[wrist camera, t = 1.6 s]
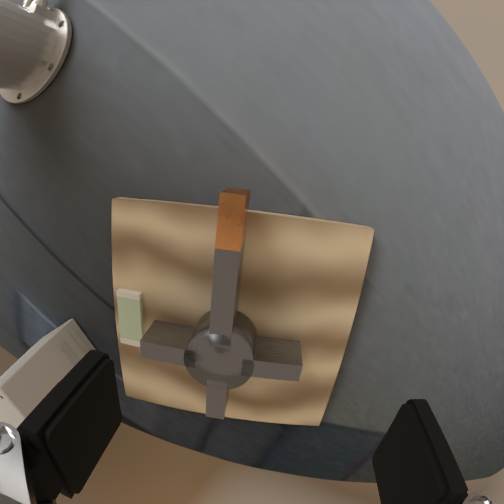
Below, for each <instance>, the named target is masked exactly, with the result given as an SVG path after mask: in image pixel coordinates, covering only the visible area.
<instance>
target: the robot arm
mask: <svg viewBox="0 0 504 504" xmlns="http://www.w3.org/2000/svg"><path fill="white" fill-rule="evenodd" d="M47 7H48V2H47V0H24V2H23V4H22V6H20V5H18V4H15V3H13V2H11V1H8V0H0V94H1V96H2V97H3V98H4V99H5V100H6V101H8V102H10V103H17V104H20V103H26V102H28V101H30V100H32V99H34V98H35V97H37V96H38V95H39V94H41V93H42V92H43V91H44V90H45V89H46V88H47V87H48V85H49V84H50V83H51V82H52V81H53V79H54V78H55V76H56V75H57V73H58V72H59V70H60V68H61V66H62V65H63V63H64V60H65V58H66V56H67V53H68V50H69V47H70V43H71V37H72V26H71V21H70V19H69V17H68V15H67V14H65V13H64V12H63V11H61V10H59V9H57V8H47ZM121 419H122V415H121V409H120V404H119V398H118V391H117V385H116V378H115V370H114V363H113V361H112V360H110V358H109V355H108V354H106V353H102V352H99V351H96V350H93V349H92V350H90V351H89V352H88V353H87V354H86V355H85V356H84V357H83V358H82V359H81V360H80V361H79V362H78V363H77V364H76V365H75V366H74V367H73V368H72V369H71V370H70V371H69V372H68V373H67V374H66V376H65V377H64V378H63V379H62V380H61V381H59V382H58V383H57V384H56V385H55V387H54V388H53V389H52V390H51V391H50V392H49V393H48V394H47V395H46V396H45V397H44V398H43V400H42V401H41V402H40V403H39V404H38V405H37V406H36V407H35V408H34V409H33V410H32V412H31V413H30V414H29V415H28V416H27V417H26V418H25V419H24V420H23V422H22V423H21V424H20V425H19V426H18V427H17V428H15V427H13V426H12V425H11V424H8V423H6V422H0V504H56V500H55V499H56V498H57V496H58V494H59V493H61V494H63V495H65V496H67V497H69V498H71V499H72V497H73V495H74V494H75V493H76V494H78V493H80V491H81V490H82V489H83V487H84V485H85V483H86V482H87V480H88V478H89V476H90V475H91V473H92V471H93V469H94V468H95V466H96V464H97V463H98V461H99V459H100V457H101V456H102V454H103V452H104V451H105V449H106V447H107V446H108V444H109V442H110V441H111V439H112V437H113V436H114V434H115V432H116V431H117V429H118V427H119V425H120V423H121ZM372 463H373V468H374V472H375V477H376V481H377V486H378V491H379V496H380V500H381V504H497V503H496V501H495V499H494V498H493V497H492V496H491V495H489V494H487V493H484V492H474V493H472V494H470V495H469V496H468V494H467V491H468V488H467V486H466V483H465V481H464V479H463V476H462V474H461V472H460V469H459V467H458V465H457V463H456V460H455V458H454V456H453V454H452V452H451V449H450V447H449V445H448V443H447V441H446V439H445V437H444V434H443V432H442V430H441V428H440V426H439V424H438V422H437V420H436V418H435V416H434V414H433V412H432V410H431V408H430V406H429V404H428V402H427V401H426V400H425V399H410V400H408V401H407V402H406V404H403V405H402V406H401V408H400V409H399V411H398V413H397V415H396V417H395V419H394V421H393V422H392V424H391V426H390V428H389V429H388V431H387V433H386V435H385V436H384V438H383V440H382V441H381V443H380V445H379V446H378V448H377V450H376V451H375V453H374V455H373V459H372Z"/></svg>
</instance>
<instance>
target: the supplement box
mask: <svg viewBox="0 0 504 504" xmlns="http://www.w3.org/2000/svg"><path fill="white" fill-rule="evenodd" d="M92 349H93V350H96V349H95V348H94V346H93V345H92V344H91V342H90V341H89V340H88V338H87V337H86V336H85V334H84V333H83V331H82V330H81V329H80V327H79V326H78V325H77V323H76V322H75V320H74V319H73V318H72V319H70V320H68V321H67V322H65V323H64V324H62V325H61V326H59V327H58V328H56V329H55V330H53V331H51V332H50V333H48V334H47V335H45V336H44V337H43V338H41V339H40V340H39V341H38V342H37V343H36V344H35V345H34V346H32V347H31V348H30V349H29V350H28V351H27V352H26V353H25V354H24V355H23V356H22V357H21V358H20V359H18V360H17V362H15V364H13V365H12V366H11V367H10V368H9V369H8V370H7V371H6V372H5V373H4V374H3V375H2V376H1V377H0V422H6V423H8V424H11V425H12V426H13V427H15V428H17V427H18V426H19V425H20V424H21V423H22V422H23V420H24V419H25V418H26V417H27V416H28V415H29V414H30V413H31V412H32V410H33V409H34V408H35V407H36V406H37V405H38V404H39V403H40V402H41V401H42V400H43V398H44V397H45V396H46V395H47V394H48V393H49V392H50V391H51V390H52V389H53V388H54V387H55V385H56V384H57V383H58V382H59V381H61V380H62V379H63V378H64V377H65V376H66V374H67V373H68V372H69V371H70V370H71V369H72V368H73V367H74V366H75V365H76V364H77V363H78V362H79V361H80V360H81V359H82V358H83V357H84V356H85V355H86V354H87V353H88V352H89V351H90V350H92ZM96 351H97V350H96Z"/></svg>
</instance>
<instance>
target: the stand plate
mask: <svg viewBox="0 0 504 504" xmlns="http://www.w3.org/2000/svg"><path fill="white" fill-rule="evenodd" d="M218 207H219V206H211V205H201V204H192V203H182V202H171V201H160V200H149V199H137V198H125V197H118V198H114V199H112V273H113V291H114V305H115V317H116V327H117V337H118V345H119V353H120V361H121V368H122V374H123V381H124V387H125V393H126V396H129V397H133V398H136V399H140V400H144V401H148V402H152V403H156V404H160V405H165V406H169V407H174V408H178V409H183V410H188V411H193V412H199V413H204V414H206V390H207V387H206V386H204V385H202V384H200V383H199V382H197V381H196V380H195V379H194V378H193V377H192V376H191V375H190V374H189V373H188V371H187V369H186V367H185V366H181V365H176V364H171V363H166V362H161V361H156V360H152V359H147V358H143V357H141V349H140V347H137V346H132V345H128V344H124V343H121V342H120V328H119V317H118V305H117V296H116V290H118V289H119V288H121V289H127V290H132V291H138V292H142V305H143V327H144V334H145V333H146V331H147V330H148V328H149V327H150V326H151V324H152V323H153V321H154V320H160V321H165V322H171V323H176V324H182V325H188V326H194V327H196V326H197V323H198V321H199V320H200V318H201V317H202V316H203V315H204V314H205V313H207V312H208V311H210V310H211V296H212V281H213V267H214V254H215V242H216V230H217V219H218ZM373 235H374V229H372V228H371V227H370V226H363V225H357V224H350V223H344V222H337V221H330V220H323V219H316V218H309V217H302V216H294V215H287V214H279V213H271V212H263V211H255V210H248V217H247V226H246V235H245V245H244V254H243V263H242V272H241V282H240V291H239V301H238V311H240V312H242V313H243V314H245V315H246V316H247V317H248V318H249V319H250V320H251V321H252V322H253V324H254V326H255V328H256V331H257V336H263V337H272V338H280V339H290V340H299V341H300V346H301V354H302V363H303V367H302V371H301V375H300V379H299V382H297V381H286V380H276V379H266V378H258V377H250V379H249V380H248V381H247V382H246V383H245V384H243V385H241V386H240V387H237V388H234V389H230V390H229V397H228V402H227V407H226V411H225V416H224V417H229V418H236V419H243V420H251V421H260V422H270V423H281V424H295V425H314V426H319V425H320V422H321V420H322V417H323V414H324V411H325V409H326V406H327V403H328V400H329V398H330V395H331V392H332V389H333V386H334V383H335V380H336V377H337V374H338V371H339V368H340V365H341V361H342V358H343V355H344V352H345V348H346V345H347V342H348V338H349V335H350V331H351V328H352V324H353V320H354V317H355V313H356V309H357V305H358V302H359V298H360V294H361V290H362V285H363V281H364V277H365V273H366V268H367V264H368V259H369V254H370V250H371V245H372V240H373Z"/></svg>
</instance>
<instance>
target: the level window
mask: <svg viewBox="0 0 504 504" xmlns="http://www.w3.org/2000/svg"><path fill="white" fill-rule="evenodd" d="M116 296H117V305H118V317H119V328H120V342H121V343H124V344H128V345H132V346H137V347H140V340H141V338H142V337H143V335H144V327H143V305H142V292H138V291H132V290H127V289H121V288H119V289H118V290H116Z"/></svg>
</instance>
